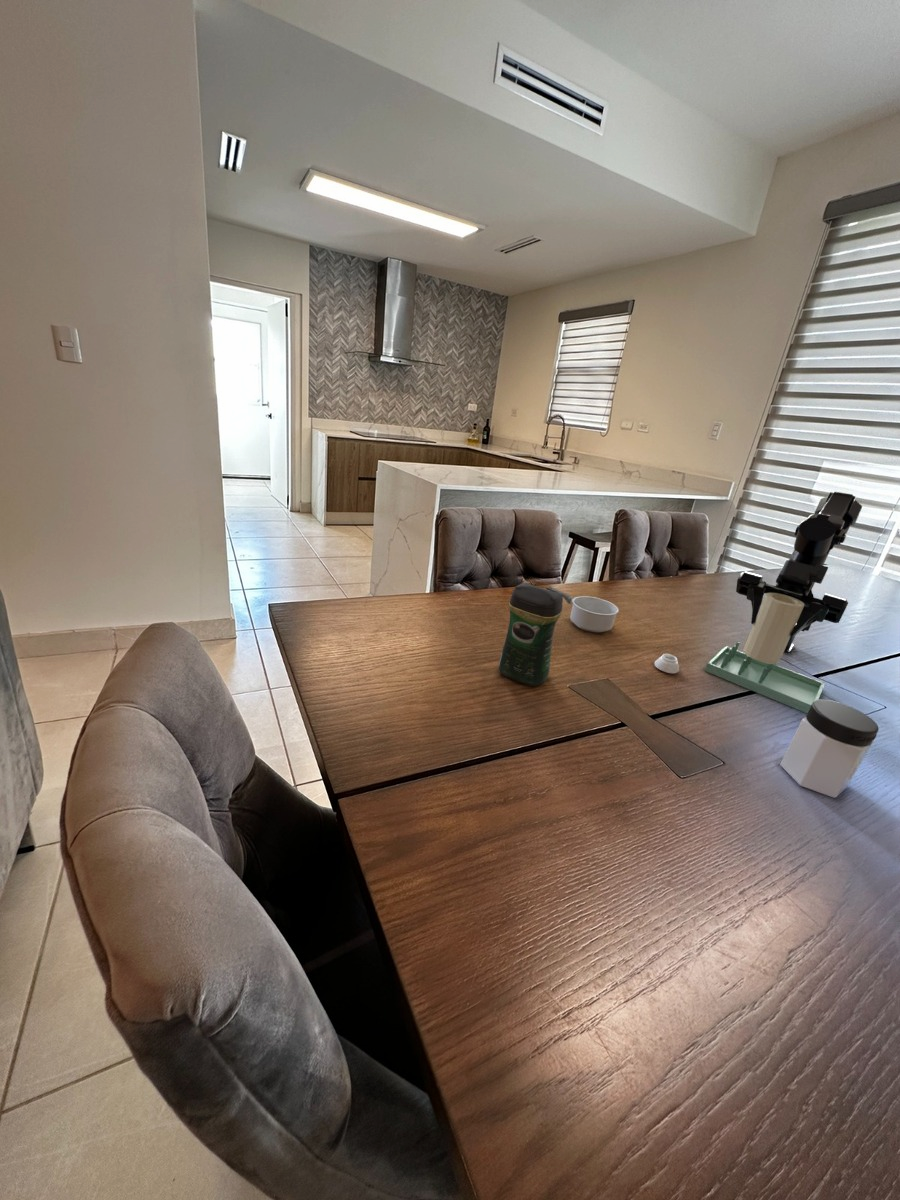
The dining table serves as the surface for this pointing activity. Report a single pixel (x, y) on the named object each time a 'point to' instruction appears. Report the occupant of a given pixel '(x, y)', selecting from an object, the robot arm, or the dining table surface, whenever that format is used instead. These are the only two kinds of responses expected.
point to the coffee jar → (530, 634)
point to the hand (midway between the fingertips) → (771, 629)
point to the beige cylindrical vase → (773, 627)
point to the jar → (829, 747)
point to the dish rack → (766, 678)
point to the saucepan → (590, 612)
